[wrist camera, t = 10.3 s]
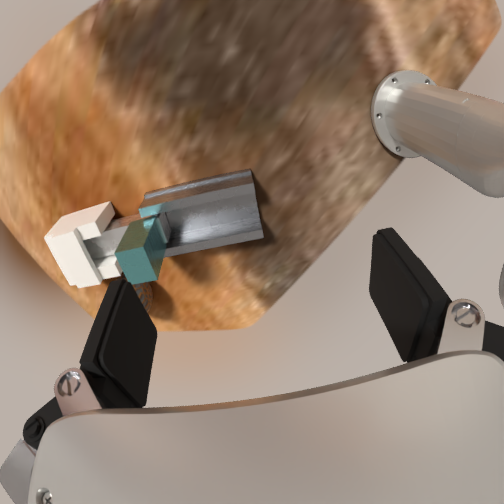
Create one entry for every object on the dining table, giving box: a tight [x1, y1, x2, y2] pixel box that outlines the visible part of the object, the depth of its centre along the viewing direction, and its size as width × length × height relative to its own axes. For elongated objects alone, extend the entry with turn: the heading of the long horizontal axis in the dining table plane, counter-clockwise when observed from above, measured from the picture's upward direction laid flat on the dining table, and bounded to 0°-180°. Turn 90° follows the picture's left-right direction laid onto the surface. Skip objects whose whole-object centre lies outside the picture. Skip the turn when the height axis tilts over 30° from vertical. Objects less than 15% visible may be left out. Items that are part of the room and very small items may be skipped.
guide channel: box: [138, 169, 264, 257], centre depth 38 cm, size 14×8×4 cm, turn 100°
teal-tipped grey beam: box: [83, 212, 171, 285], centre depth 35 cm, size 14×4×10 cm, turn 100°
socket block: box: [44, 201, 123, 288], centre depth 37 cm, size 9×8×7 cm
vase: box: [116, 274, 153, 313], centre depth 42 cm, size 7×7×9 cm
